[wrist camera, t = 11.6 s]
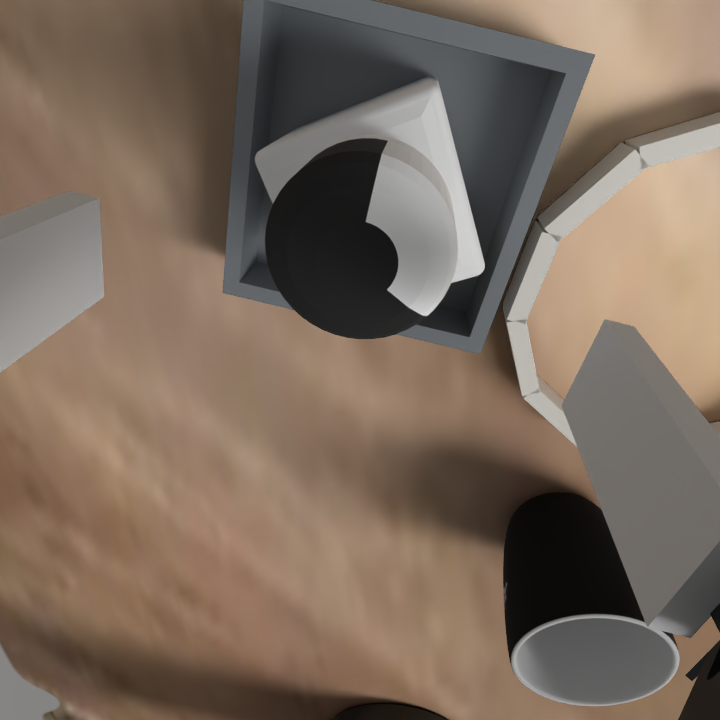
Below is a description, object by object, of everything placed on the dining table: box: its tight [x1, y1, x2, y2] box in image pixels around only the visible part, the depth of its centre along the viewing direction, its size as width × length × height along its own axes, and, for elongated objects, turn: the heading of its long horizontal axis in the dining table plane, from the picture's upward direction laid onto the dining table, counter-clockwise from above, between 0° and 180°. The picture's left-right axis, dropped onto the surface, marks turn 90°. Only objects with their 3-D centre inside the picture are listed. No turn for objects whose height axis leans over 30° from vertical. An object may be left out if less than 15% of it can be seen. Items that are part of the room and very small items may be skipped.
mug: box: [503, 493, 680, 706], centre depth 34 cm, size 12×9×10 cm
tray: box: [223, 0, 595, 354], centre depth 25 cm, size 14×14×4 cm
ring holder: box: [502, 112, 720, 446], centre depth 28 cm, size 19×19×2 cm
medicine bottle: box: [255, 76, 485, 339], centre depth 21 cm, size 7×7×12 cm
